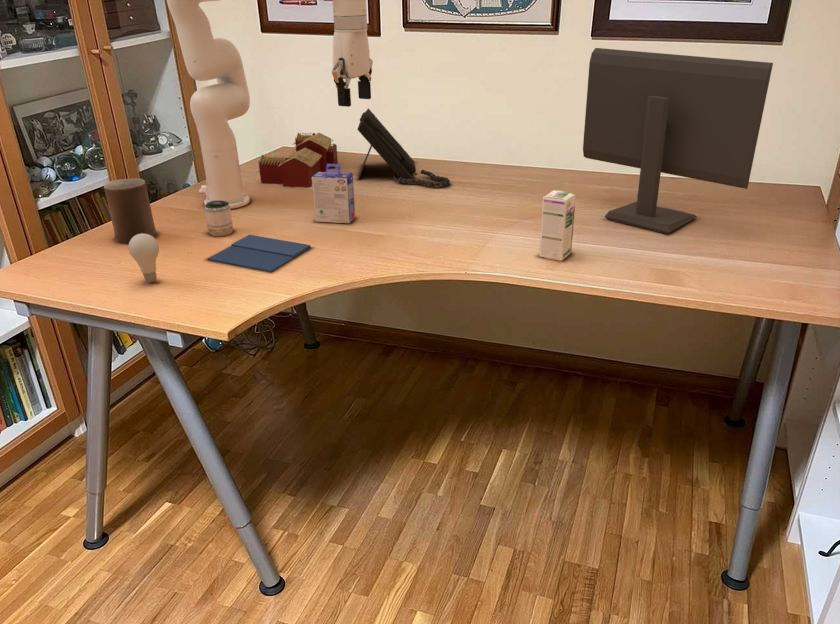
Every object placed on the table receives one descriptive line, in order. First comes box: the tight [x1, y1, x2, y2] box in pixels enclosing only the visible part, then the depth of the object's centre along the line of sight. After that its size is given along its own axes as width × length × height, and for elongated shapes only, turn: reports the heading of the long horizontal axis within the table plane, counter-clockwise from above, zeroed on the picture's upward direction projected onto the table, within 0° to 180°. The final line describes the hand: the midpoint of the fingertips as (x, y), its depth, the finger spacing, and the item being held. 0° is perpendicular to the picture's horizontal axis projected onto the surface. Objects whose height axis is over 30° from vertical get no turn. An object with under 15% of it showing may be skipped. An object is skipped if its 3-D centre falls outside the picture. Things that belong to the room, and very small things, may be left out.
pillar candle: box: [103, 177, 157, 244], centre depth 176 cm, size 10×10×15 cm
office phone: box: [357, 107, 451, 188], centre depth 219 cm, size 29×28×20 cm
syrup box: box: [539, 189, 577, 262], centre depth 161 cm, size 6×6×14 cm
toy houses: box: [256, 132, 339, 188], centre depth 232 cm, size 45×20×10 cm, turn 173°
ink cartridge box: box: [311, 163, 356, 224], centre depth 185 cm, size 10×6×14 cm, turn 78°
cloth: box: [207, 234, 311, 273], centre depth 168 cm, size 18×16×1 cm
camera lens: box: [204, 201, 234, 237], centre depth 179 cm, size 6×6×8 cm
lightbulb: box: [127, 234, 160, 284], centre depth 152 cm, size 6×6×11 cm
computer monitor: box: [582, 47, 774, 235], centre depth 176 cm, size 44×16×40 cm, turn 47°
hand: (355, 102), depth 170 cm, fingers open, 9 cm apart
